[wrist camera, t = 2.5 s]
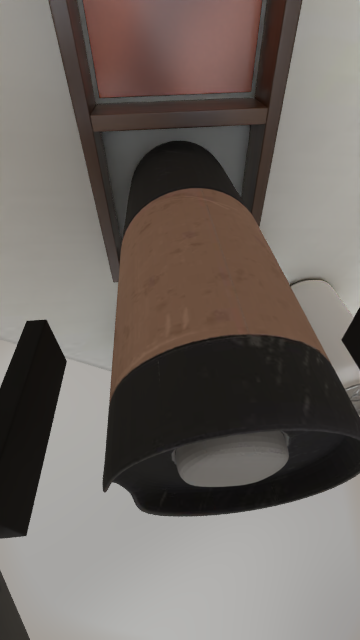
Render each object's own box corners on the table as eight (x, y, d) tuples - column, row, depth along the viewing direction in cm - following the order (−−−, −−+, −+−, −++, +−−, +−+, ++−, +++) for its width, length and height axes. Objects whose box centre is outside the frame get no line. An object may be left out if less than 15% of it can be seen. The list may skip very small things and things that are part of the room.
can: (344, 280, 30) (422, 381, 22) (312, 323, 35) (366, 421, 26) (287, 273, 29) (347, 377, 20) (261, 319, 33) (301, 420, 25)
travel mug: (248, 168, 21) (445, 447, 8) (196, 251, 26) (257, 518, 12) (152, 111, 18) (182, 397, 5) (112, 216, 23) (67, 516, 9)
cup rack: (115, 261, 26) (113, 282, 24) (4, -268, 10) (-31, -340, 8) (242, 253, 27) (250, 273, 25) (322, -262, 11) (365, -329, 9)
